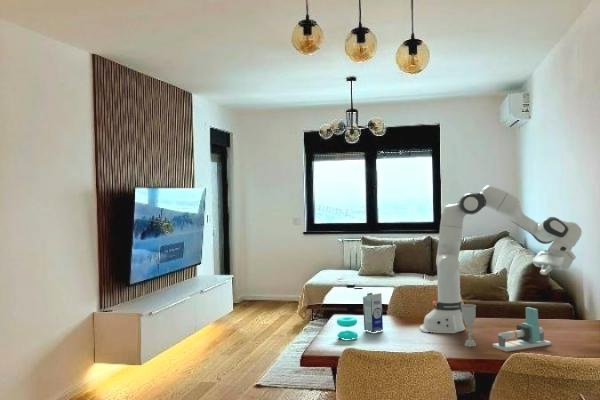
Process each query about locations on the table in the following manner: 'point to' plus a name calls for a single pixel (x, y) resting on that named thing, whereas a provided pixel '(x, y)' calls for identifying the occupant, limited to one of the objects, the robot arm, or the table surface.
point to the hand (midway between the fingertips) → (542, 273)
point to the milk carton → (373, 312)
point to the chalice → (469, 320)
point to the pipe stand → (518, 341)
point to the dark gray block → (525, 333)
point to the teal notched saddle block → (532, 324)
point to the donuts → (347, 323)
